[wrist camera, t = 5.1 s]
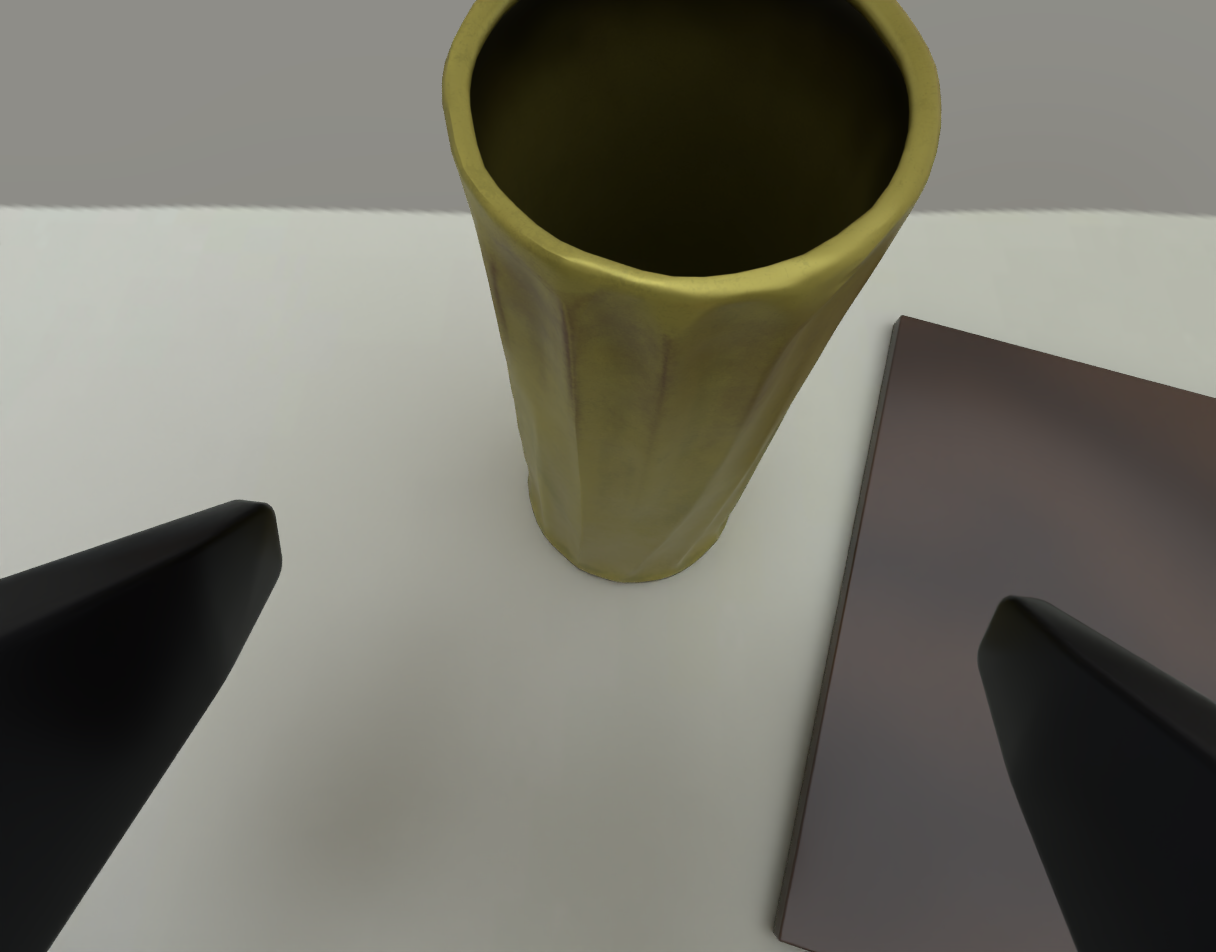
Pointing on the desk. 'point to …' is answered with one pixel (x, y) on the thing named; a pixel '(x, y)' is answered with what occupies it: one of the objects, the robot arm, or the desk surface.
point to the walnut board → (985, 627)
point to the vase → (676, 236)
